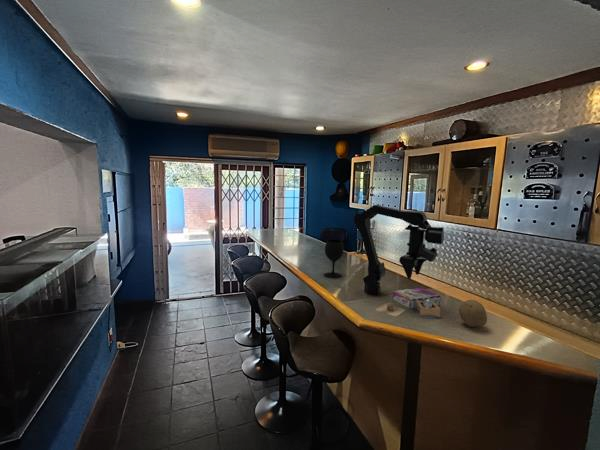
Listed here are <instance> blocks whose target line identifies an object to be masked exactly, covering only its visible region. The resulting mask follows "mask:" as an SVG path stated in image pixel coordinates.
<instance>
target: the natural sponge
mask: <svg viewBox="0 0 600 450" xmlns="http://www.w3.org/2000/svg"><path fill="white" fill-rule="evenodd" d="M458 308H459V309H458V314H459V317H461V319H462V321H463V322H464V323H465V325H467V326H468V327H470V328H476V327H481V326H485V325H486V324H487V321H488V315H487V312H486V309H485V307H484V305H483V304H482V303H481V302H479V301H477V300H475V299H468V300H465V301H463V302H462V303H461V304H460V306H459V307H458Z"/></svg>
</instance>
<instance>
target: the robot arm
mask: <svg viewBox="0 0 600 450" xmlns="http://www.w3.org/2000/svg"><path fill="white" fill-rule="evenodd" d="M378 215H379V216H381V215H382V216H385V217H390V218H393V219H398V220H402V221H404V222H406V223H407V224H408V225H407V226H406V227H404V230H406V231H409V237H408V242H407V243H406V246H408V247H407V249H408V250H407V252H406V254H404V255H401V256H400V257H399V260H398V262H399V263H400V265H401V266H402V267H403V270H404V273H405V274H406V275H405V276H406V278H407V279H408V280H411V279H412V275H413V270H414V272H415V275H420V272H421V270H422V266H423V265H424V263H426V261H428V262H430V263H432V262H434V261H435V260H436V258H437V257H438V256H439V255H438V254H439V253H438V251H437V250H438V249H437V248H435V247H432V248H427V247H426V244H425V243H424V241H426V242H427V243H428V244H436V245H443V244H444V241H445V231H444V229H445V228H444V227H441V226H439V227H438V226H437V227H436V226H432V225H431V224H430V223H429V221H428V218H427V215H426V213H425V212H424V211H419V210H418V211H417V210H413V211H412V210H402V209H399V208H398V209H397V208H392V207H388V206H384V205H381V204H373V205H371V207H369V208H368V209H365V210H364V211H362V212H359V213H356V214H355V215H354V216H353V224H354V225H355V228H356V230H358V231H359V232H360V236H361V239H362V240H361V241H362V242H363V243H362V244H363V247H364V250H365V254H366V258H367V263H368V264H367V274H368V275H366V276H364V277H363V283H364V287H363V288H364V289H363V291H364V293H365V294H367V295H370V296H371V295H372V296H379V295H381V282H380V281H381V280H382V279H383V278H384V277H385V276H386V271H387V269H386V267H385V263H384V262H381V261H380V260H379V257H378V254H377V250H376V247H375V243H374V240H373V236H372V232H371V227H372V222H371V221H372V219H374V218H375V217H376V216H378Z"/></svg>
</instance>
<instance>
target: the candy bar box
mask: <svg viewBox="0 0 600 450" xmlns="http://www.w3.org/2000/svg"><path fill="white" fill-rule="evenodd" d="M392 297H393V298H392V299H393V300H394V301H396V302H397V303H399V304H400V305H403V306H404V307H406V308H408V309H409V310H410V309H414V308H415V301H425V299H430V300H431V302H435V303H436V305H437V306H440V304H441V297H442V296H441V295H439V294H436V293H435V292H433V291H430V290H429V289H426V288H424V287H415V288H409V289H399V290H398V289H397V290H393V296H392Z"/></svg>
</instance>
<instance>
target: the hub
mask: <svg viewBox="0 0 600 450" xmlns="http://www.w3.org/2000/svg"><path fill="white" fill-rule="evenodd" d="M423 307H432V302H431V300H430V299H425V301H424V302H423ZM413 313H414V314H415V315H416V316H417V317H418V316H419V317H421V318H423V319H428V320H436V319H437V320H438V319H440V318H441V317H442V314H441V313H440V317H436V316H422V315H420V314H419V313H418V311H417V310H416V308H413Z"/></svg>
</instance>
